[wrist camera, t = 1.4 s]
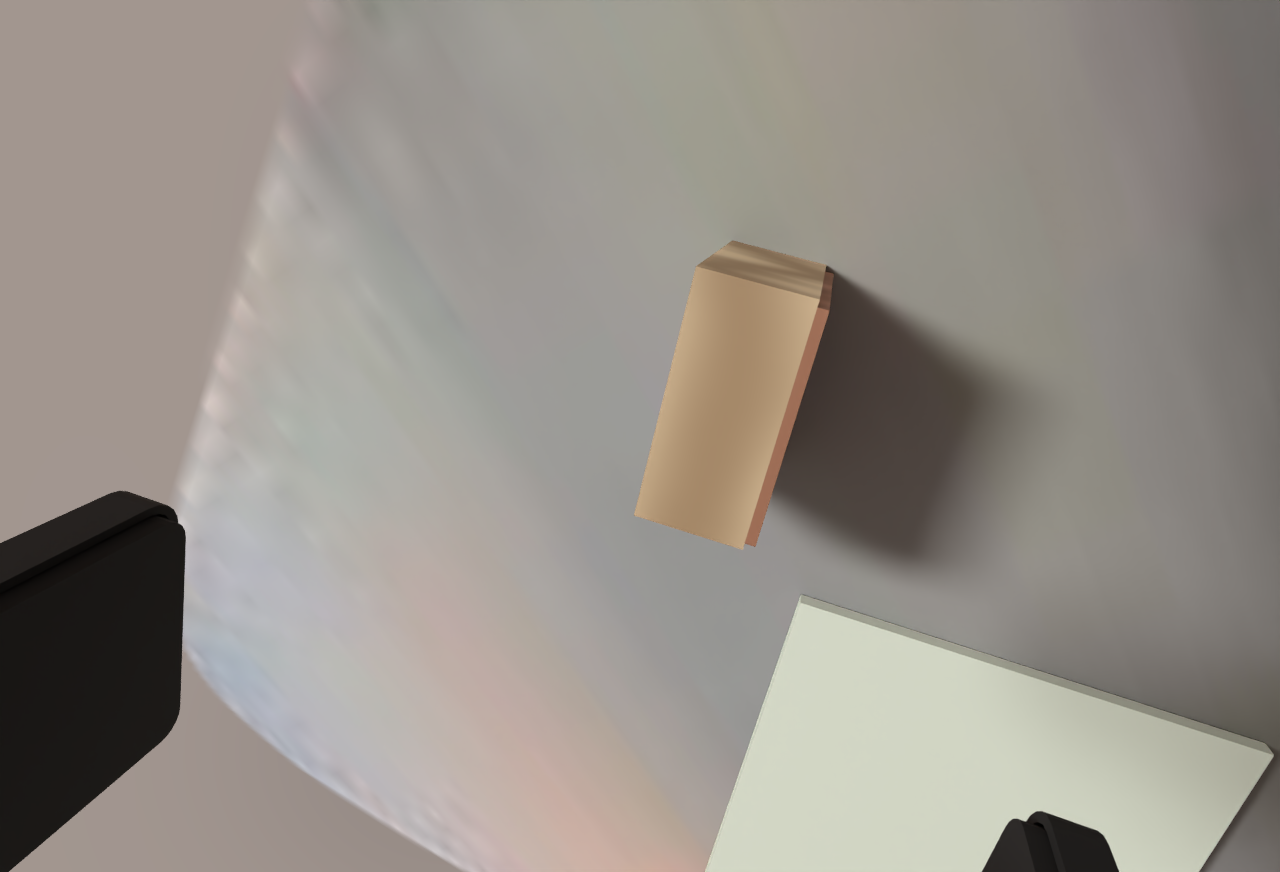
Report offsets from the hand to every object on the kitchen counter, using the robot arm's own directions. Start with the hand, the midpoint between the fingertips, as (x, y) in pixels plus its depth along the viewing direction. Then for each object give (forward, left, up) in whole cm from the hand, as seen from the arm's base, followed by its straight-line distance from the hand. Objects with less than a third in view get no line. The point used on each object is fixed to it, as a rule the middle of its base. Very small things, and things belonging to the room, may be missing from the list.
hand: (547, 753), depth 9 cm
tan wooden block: (0, 0, -20) cm, 20 cm away
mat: (-12, +16, -20) cm, 29 cm away
